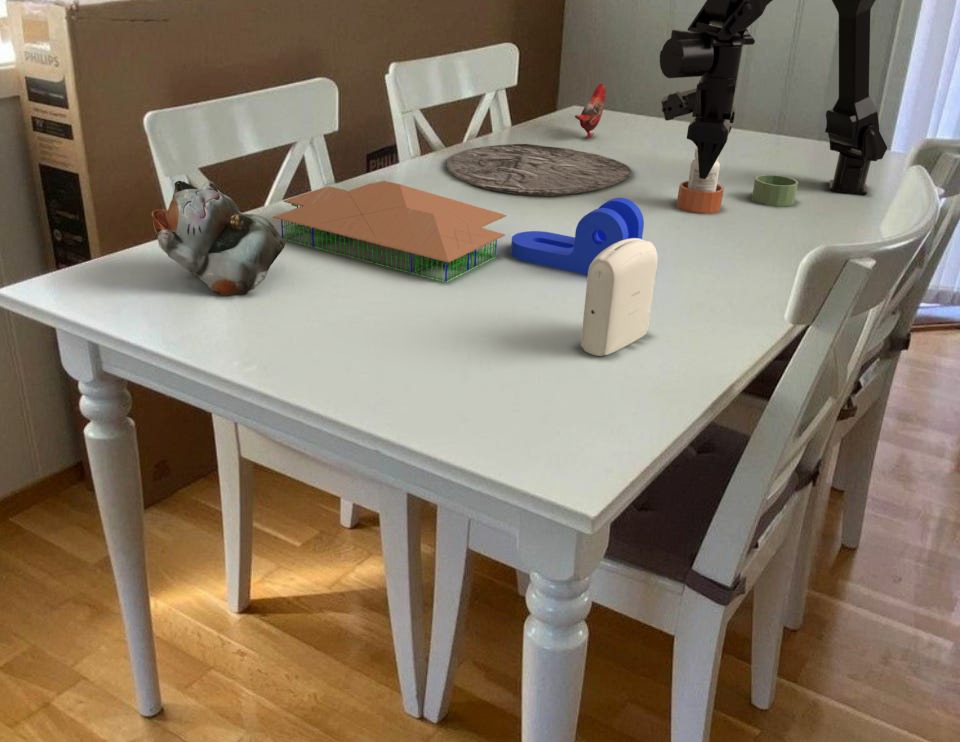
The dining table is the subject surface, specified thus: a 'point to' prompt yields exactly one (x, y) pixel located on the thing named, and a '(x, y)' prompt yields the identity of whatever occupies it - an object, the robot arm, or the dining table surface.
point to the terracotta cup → (699, 199)
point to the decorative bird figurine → (593, 110)
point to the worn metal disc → (536, 169)
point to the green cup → (774, 190)
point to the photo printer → (619, 296)
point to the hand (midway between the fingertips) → (704, 174)
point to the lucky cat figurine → (217, 239)
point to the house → (396, 223)
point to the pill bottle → (703, 184)
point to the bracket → (581, 237)
